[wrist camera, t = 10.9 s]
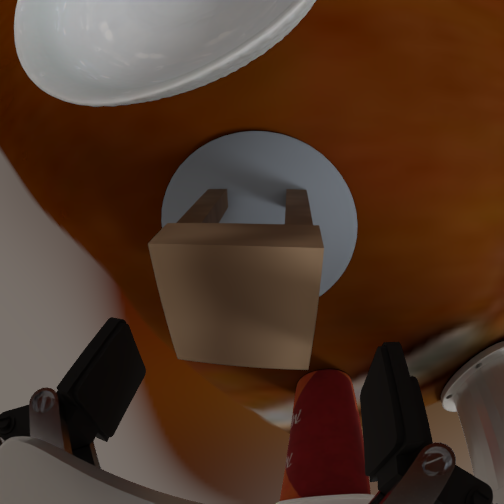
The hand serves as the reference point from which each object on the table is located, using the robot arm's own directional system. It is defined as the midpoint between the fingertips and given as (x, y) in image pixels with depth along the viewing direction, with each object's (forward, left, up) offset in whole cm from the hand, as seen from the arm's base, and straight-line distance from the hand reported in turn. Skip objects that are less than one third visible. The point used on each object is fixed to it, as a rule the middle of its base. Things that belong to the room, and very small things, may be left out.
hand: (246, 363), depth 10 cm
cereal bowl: (+16, -9, -11) cm, 21 cm away
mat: (+1, 0, -10) cm, 10 cm away
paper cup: (-15, +7, -11) cm, 20 cm away
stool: (+1, 0, -10) cm, 10 cm away
